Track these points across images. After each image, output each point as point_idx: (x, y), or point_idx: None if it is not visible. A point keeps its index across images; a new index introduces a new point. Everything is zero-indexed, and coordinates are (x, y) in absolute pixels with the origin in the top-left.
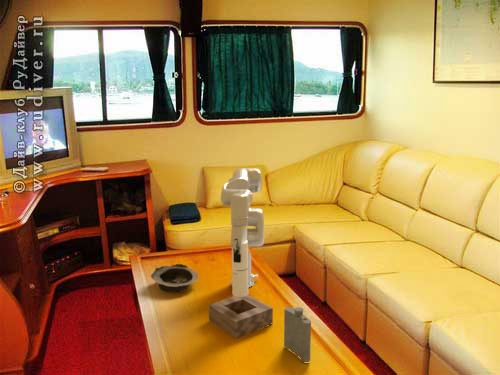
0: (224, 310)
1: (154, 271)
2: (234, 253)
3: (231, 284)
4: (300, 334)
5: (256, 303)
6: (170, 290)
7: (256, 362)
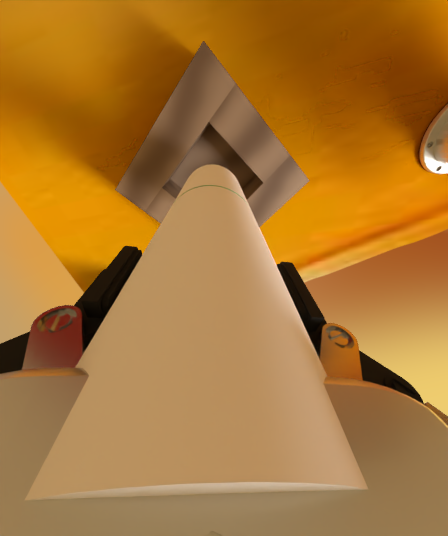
0: (173, 134)
1: None
2: (39, 329)
3: None
4: None
5: None
6: None
7: (68, 236)
